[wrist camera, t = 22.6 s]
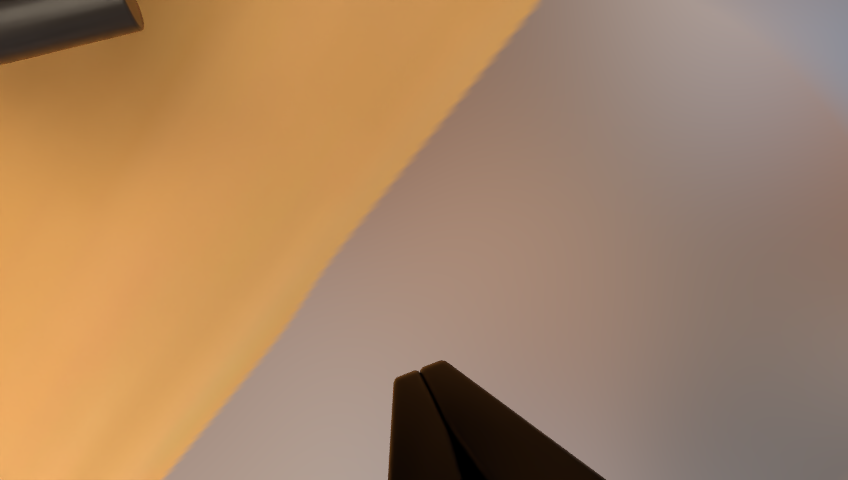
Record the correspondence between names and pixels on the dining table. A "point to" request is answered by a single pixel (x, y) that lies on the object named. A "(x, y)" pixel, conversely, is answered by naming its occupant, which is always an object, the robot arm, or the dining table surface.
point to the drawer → (62, 25)
